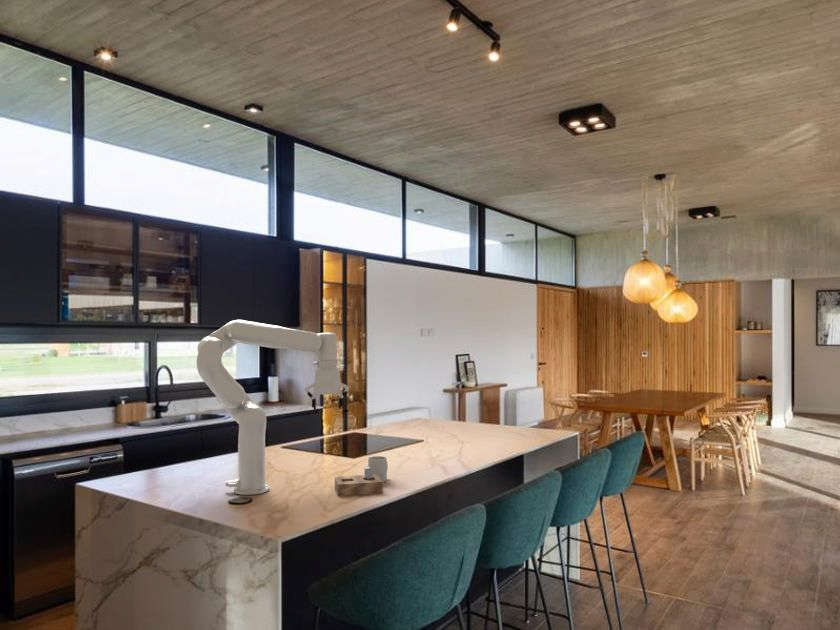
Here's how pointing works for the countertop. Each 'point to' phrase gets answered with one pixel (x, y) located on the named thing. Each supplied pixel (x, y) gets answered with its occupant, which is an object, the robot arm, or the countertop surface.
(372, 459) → the cup
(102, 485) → the countertop surface
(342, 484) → the bore block
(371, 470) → the dowel
